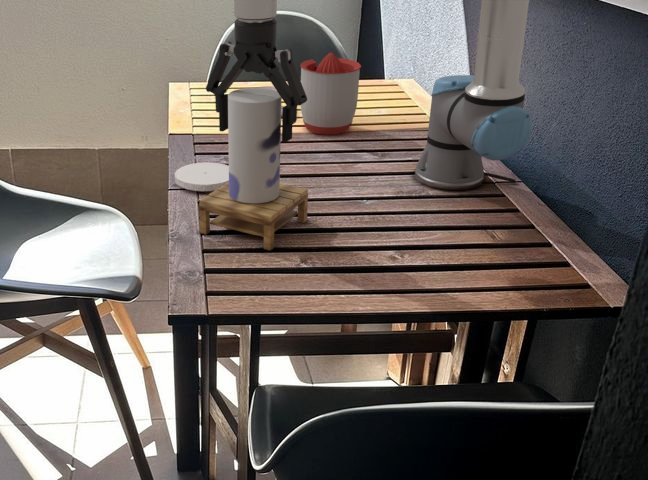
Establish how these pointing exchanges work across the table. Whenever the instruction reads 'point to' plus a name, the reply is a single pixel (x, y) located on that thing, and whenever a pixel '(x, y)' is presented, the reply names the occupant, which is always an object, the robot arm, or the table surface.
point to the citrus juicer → (329, 94)
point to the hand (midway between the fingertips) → (255, 134)
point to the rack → (253, 212)
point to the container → (254, 144)
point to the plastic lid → (202, 176)
